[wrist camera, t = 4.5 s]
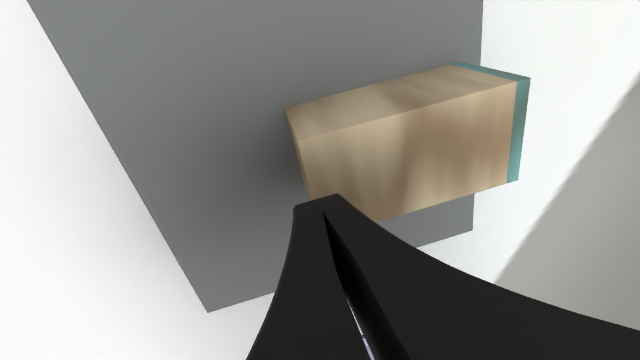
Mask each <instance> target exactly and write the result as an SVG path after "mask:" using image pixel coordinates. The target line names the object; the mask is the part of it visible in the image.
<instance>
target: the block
mask: <svg viewBox="0 0 640 360" xmlns="http://www.w3.org/2000/svg"><path fill="white" fill-rule="evenodd" d="M529 86H530V78H529V77H525V76H521V75H516V74H512V73H508V72H503V71H499V70H495V69H490V68H486V67H482V66H477V65H473V64H468V63H464V62H456V63H453V64H449V65H445V66H441V67H437V68H434V69H430V70H426V71H422V72H418V73H415V74H411V75H407V76H403V77H399V78H396V79H392V80H388V81H384V82H380V83H377V84H373V85H369V86H365V87H361V88H358V89H354V90H350V91H346V92H342V93H339V94H335V95H331V96H327V97H323V98H320V99H316V100H312V101H308V102H304V103H301V104H297V105H293V106H289V107H285V108H284V109H285V113H286V117H287V121H288V124H289V128H290V132H291V136H292V140H293V143H294V147H295V151H296V155H297V158H298V162H299V166H300V170H301V173H302V177H303V181H304V185H305V188H306V191H307V194H308V197H309V200H310V201H311V200H315V199H318V198H322V197H325V196H329V195H332V194H335V193H338V194H340V195H341V196H343V197H344V198H345V199H346V200H347V201H348V202H349V203H351V204H352V205H353V206H354V207H356V208H357V209H358V210H359V211H361V212H362V213H363V214H365V215H366V216H367V217H369V218H370V219H371V220H373V221H374V222H376V223H377V222H380V221H383V220H387V219H390V218H393V217H397V216H400V215H403V214H407V213H410V212H413V211H417V210H420V209H423V208H427V207H430V206H433V205H436V204H440V203H443V202H446V201H450V200H453V199H456V198H460V197H463V196H466V195H470V194H473V193H476V192H480V191H483V190H486V189H489V188H493V187H496V186H499V185H503V184H506V183H509V182H513V181H516V180H518V174H519V166H520V158H521V150H522V142H523V134H524V126H525V118H526V110H527V102H528V94H529Z"/></svg>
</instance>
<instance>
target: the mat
mask: <svg viewBox="0 0 640 360" xmlns="http://www.w3.org/2000/svg"><path fill="white" fill-rule="evenodd" d="M27 2H28V3H29V5H30V7H31V8H32V10H33V12H34V14H35V15H36V17H37V19H38V21H39V22H40V24H41V26H42V27H43V29H44V31H45V33H46V34H47V36H48V38H49V40H50V41H51V43H52V45H53V47H54V48H55V50H56V52H57V53H58V55H59V57H60V59H61V60H62V62H63V64H64V66H65V67H66V69H67V71H68V72H69V74H70V76H71V78H72V79H73V81H74V83H75V85H76V86H77V88H78V90H79V91H80V93H81V95H82V97H83V98H84V100H85V102H86V104H87V105H88V107H89V109H90V110H91V112H92V114H93V116H94V117H95V119H96V121H97V123H98V124H99V126H100V128H101V130H102V131H103V133H104V135H105V136H106V138H107V140H108V142H109V143H110V145H111V147H112V149H113V150H114V152H115V154H116V155H117V157H118V159H119V161H120V162H121V164H122V166H123V168H124V169H125V171H126V173H127V174H128V176H129V178H130V180H131V181H132V183H133V185H134V187H135V188H136V190H137V192H138V193H139V195H140V197H141V199H142V200H143V202H144V204H145V206H146V207H147V209H148V211H149V213H150V214H151V216H152V218H153V219H154V221H155V223H156V225H157V226H158V228H159V230H160V232H161V233H162V235H163V237H164V238H165V240H166V242H167V244H168V245H169V247H170V249H171V251H172V252H173V254H174V256H175V257H176V259H177V261H178V263H179V264H180V266H181V268H182V270H183V271H184V273H185V275H186V276H187V278H188V280H189V282H190V283H191V285H192V287H193V289H194V290H195V292H196V294H197V296H198V297H199V299H200V301H201V302H202V304H203V306H204V308H205V309H206V311H207V313H209V312H212V311H215V310H218V309H222V308H225V307H228V306H231V305H234V304H238V303H241V302H244V301H247V300H250V299H254V298H257V297H260V296H263V295H266V294H270V293H273V292H275V291H276V288H277V285H278V282H279V279H280V276H281V272H282V269H283V266H284V262H285V259H286V255H287V250H288V246H289V241H290V237H291V230H292V223H293V208H294V207H295V205H298V204H301V203H304V202H308V201H310V200H309V197H308V194H307V191H306V188H305V185H304V181H303V177H302V173H301V170H300V166H299V162H298V158H297V155H296V151H295V147H294V143H293V140H292V136H291V132H290V128H289V124H288V121H287V117H286V113H285V109H284V108H285V107H289V106H293V105H297V104H301V103H304V102H308V101H312V100H316V99H320V98H323V97H327V96H331V95H335V94H339V93H342V92H346V91H350V90H354V89H358V88H361V87H365V86H369V85H373V84H377V83H380V82H384V81H388V80H392V79H396V78H399V77H403V76H407V75H411V74H415V73H418V72H422V71H426V70H430V69H434V68H437V67H441V66H445V65H449V64H453V63H456V62H464V63H468V64H473V65H477V66H480V58H481V36H482V15H483V0H27ZM473 208H474V193H473V194H470V195H466V196H463V197H460V198H456V199H453V200H450V201H446V202H443V203H440V204H436V205H433V206H430V207H427V208H423V209H420V210H417V211H413V212H410V213H407V214H403V215H400V216H397V217H393V218H390V219H387V220H383V221H380V222H377V224H379V225H380V226H381V227H383V228H384V229H386V230H387V231H389V232H390V233H392V234H393V235H395V236H397V237H398V238H400V239H401V240H403V241H405V242H406V243H408V244H410V245H411V246H413V247H415V248H417V247H420V246H423V245H427V244H430V243H433V242H436V241H439V240H443V239H446V238H449V237H452V236H455V235H459V234H462V233H465V232H468V231H471V230H473Z"/></svg>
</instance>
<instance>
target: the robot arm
mask: <svg viewBox="0 0 640 360" xmlns="http://www.w3.org/2000/svg"><path fill="white" fill-rule="evenodd" d="M347 300H348V301H347ZM348 302H349V303H348ZM349 304H350V306H349ZM350 307H351V308H350ZM351 309H352V311H353V313H354V315H355V317H356V320H357V322H358V324H359V326H360V328H361V331H362V333H363V335H364V337H365V338H362V336H361V334H360V331H359V328H358V326H357V323H356V321H355V318H354V316H353V313H352V311H351ZM246 360H640V331H639V330H635V329H632V328H628V327H625V326H621V325H618V324H614V323H610V322H607V321H603V320H599V319H596V318H592V317H589V316H585V315H582V314H578V313H575V312H572V311H568V310H565V309H562V308H559V307H556V306H553V305H550V304H547V303H544V302H541V301H538V300H535V299H532V298H529V297H526V296H524V295H521V294H518V293H515V292H513V291H510V290H507V289H504V288H502V287H499V286H497V285H495V284H492V283H490V282H487V281H485V280H482V279H480V278H477V277H475V276H472V275H470V274H467V273H465V272H463V271H460V270H458V269H456V268H454V267H451V266H449V265H447V264H445V263H443V262H441V261H439V260H437V259H435V258H433V257H431V256H429V255H428V254H426V253H424V252H422V251H420V250H418V249H417V248H415V247H413V246H411V245H410V244H408V243H406V242H405V241H403V240H401V239H400V238H398V237H397V236H395V235H393V234H392V233H390V232H389V231H387V230H386V229H384V228H383V227H381V226H380V225H379V224H377V223H376V222H374V221H373V220H371V219H370V218H369V217H367V216H366V215H365V214H363V213H362V212H361V211H359V210H358V209H357V208H356V207H354V206H353V205H352V204H351V203H349V202H348V201H347V200H346V199H345V198H344V197H343V196H341V195H340V194H338V193H335V194H332V195H329V196H325V197H322V198H318V199H315V200H311V201H308V202H304V203H301V204H298V205H295V207H294V208H293V223H292V230H291V237H290V241H289V246H288V250H287V255H286V259H285V262H284V266H283V269H282V272H281V276H280V279H279V282H278V285H277V288H276V291H275V294H274V297H273V300H272V302H271V305H270V307H269V310H268V312H267V315H266V317H265V320H264V322H263V324H262V327H261V329H260V331H259V333H258V335H257V337H256V340H255V342H254V344H253V346H252V348H251V350H250V352H249V354H248V356H247V358H246Z"/></svg>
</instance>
